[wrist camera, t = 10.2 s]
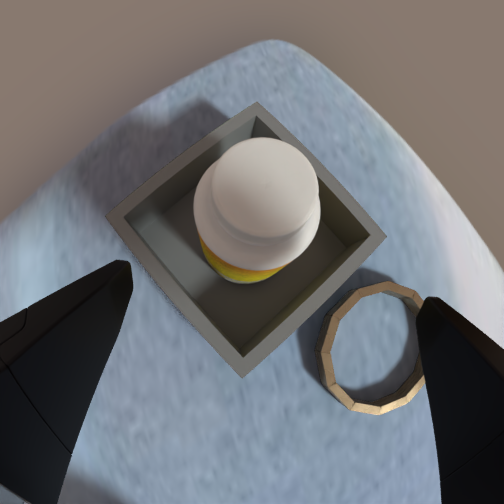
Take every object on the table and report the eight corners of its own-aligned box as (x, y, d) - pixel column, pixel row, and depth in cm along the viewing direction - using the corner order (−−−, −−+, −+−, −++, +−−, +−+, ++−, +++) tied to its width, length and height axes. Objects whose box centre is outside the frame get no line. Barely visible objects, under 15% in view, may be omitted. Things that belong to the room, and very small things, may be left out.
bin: (237, 364, 20) (242, 378, 16) (126, 234, 21) (104, 216, 17) (358, 250, 23) (387, 236, 18) (250, 135, 23) (256, 101, 19)
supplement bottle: (289, 282, 21) (349, 257, 11) (204, 287, 21) (188, 265, 11) (282, 201, 22) (328, 121, 12) (201, 203, 22) (188, 120, 12)
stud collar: (367, 430, 20) (376, 436, 19) (289, 349, 21) (294, 352, 20) (443, 343, 22) (454, 344, 21) (378, 259, 23) (387, 255, 21)
